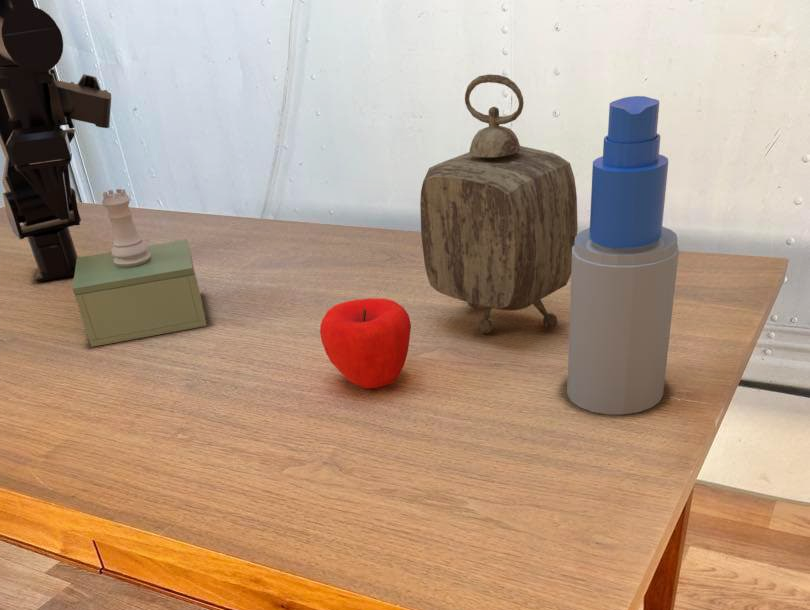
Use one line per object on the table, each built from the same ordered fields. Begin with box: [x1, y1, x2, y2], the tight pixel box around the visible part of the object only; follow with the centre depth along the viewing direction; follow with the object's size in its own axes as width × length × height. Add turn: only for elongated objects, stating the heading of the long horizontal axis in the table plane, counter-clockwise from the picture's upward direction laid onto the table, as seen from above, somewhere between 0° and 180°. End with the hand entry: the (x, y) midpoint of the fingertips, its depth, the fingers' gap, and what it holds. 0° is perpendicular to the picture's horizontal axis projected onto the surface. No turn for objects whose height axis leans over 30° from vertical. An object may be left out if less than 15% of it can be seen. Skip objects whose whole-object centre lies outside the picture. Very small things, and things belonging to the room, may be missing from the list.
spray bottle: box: [566, 95, 680, 416], centre depth 73 cm, size 9×9×25 cm
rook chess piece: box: [101, 188, 151, 267], centre depth 99 cm, size 4×4×8 cm
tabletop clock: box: [419, 74, 579, 335], centre depth 87 cm, size 14×9×25 cm, turn 47°
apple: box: [319, 298, 412, 389], centre depth 84 cm, size 9×9×8 cm
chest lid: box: [71, 239, 195, 296], centre depth 101 cm, size 11×14×1 cm
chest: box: [74, 253, 207, 348], centre depth 103 cm, size 11×14×6 cm
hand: (66, 208), depth 102 cm, fingers open, 9 cm apart
